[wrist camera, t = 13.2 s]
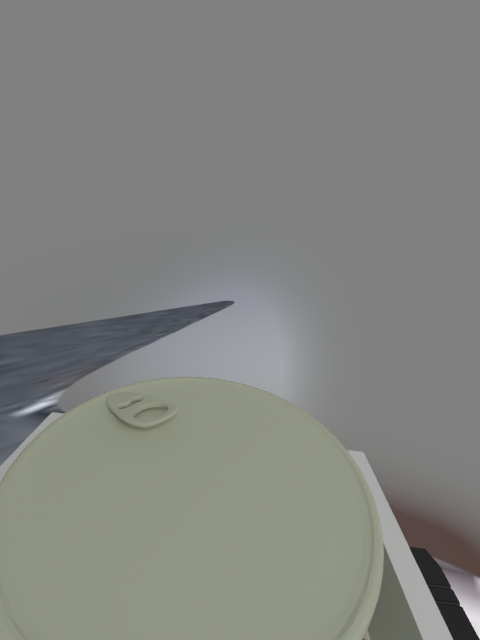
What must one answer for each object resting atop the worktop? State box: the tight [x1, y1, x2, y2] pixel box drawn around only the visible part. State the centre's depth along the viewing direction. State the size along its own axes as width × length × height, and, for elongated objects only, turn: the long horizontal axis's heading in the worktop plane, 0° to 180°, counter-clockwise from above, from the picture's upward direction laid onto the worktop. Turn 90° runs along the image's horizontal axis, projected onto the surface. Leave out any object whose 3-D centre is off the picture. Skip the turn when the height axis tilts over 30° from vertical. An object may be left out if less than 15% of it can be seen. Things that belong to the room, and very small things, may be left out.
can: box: [0, 377, 384, 640], centre depth 10 cm, size 9×9×12 cm
